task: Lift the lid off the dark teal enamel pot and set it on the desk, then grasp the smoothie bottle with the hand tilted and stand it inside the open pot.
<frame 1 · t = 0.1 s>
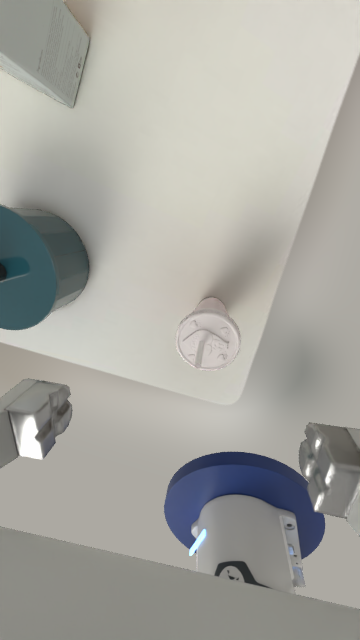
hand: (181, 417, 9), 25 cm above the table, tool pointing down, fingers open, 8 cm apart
smoothie: (211, 310, 34), on the table
small box: (48, 57, 27), on the table
pot: (45, 260, 35), on the table
lid: (1, 270, 28), point 7 cm above the table, touching pot
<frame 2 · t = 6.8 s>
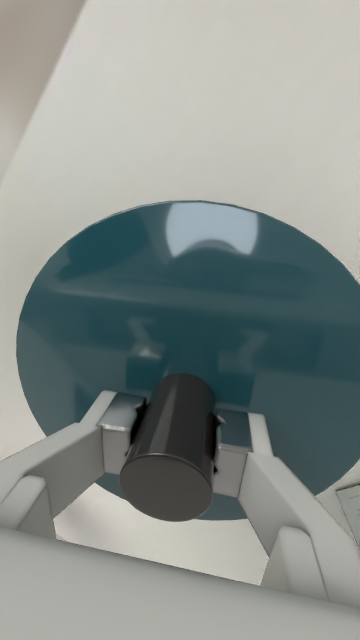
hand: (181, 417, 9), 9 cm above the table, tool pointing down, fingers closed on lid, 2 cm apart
lid: (185, 390, 10), point 8 cm above the table, touching gripper, pot
when the fingers open (2 cm above the table, at t = 14.3 s): lid stays where it is, point 1 cm above the table.
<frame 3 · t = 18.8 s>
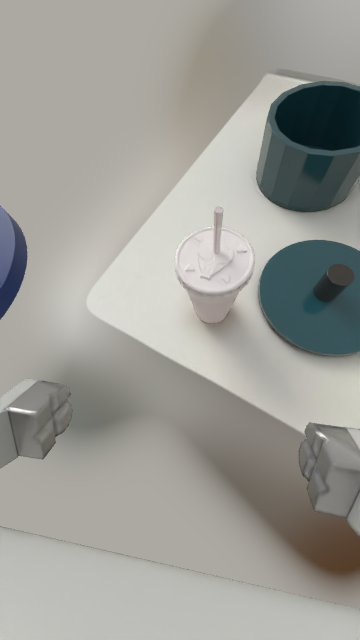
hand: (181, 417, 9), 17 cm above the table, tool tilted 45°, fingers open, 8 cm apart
smoothie: (211, 309, 29), on the table
pot: (303, 176, 35), on the table
lid: (322, 294, 28), point 1 cm above the table
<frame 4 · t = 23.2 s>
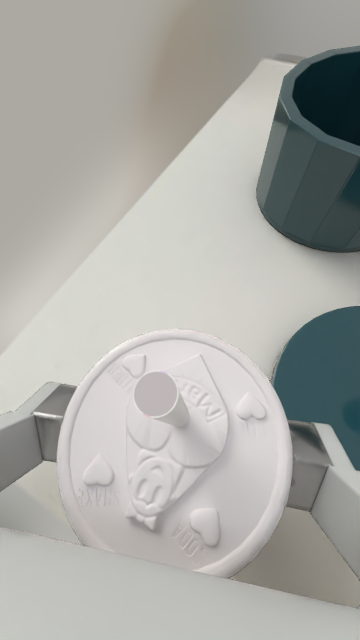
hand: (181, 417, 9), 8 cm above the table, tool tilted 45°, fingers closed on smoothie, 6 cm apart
smoothie: (186, 435, 16), on the table, touching gripper
pot: (328, 195, 23), on the table
when the fingers open (8 cm above the table, at t = 34.5 s): smoothie stays where it is, resting on pot.
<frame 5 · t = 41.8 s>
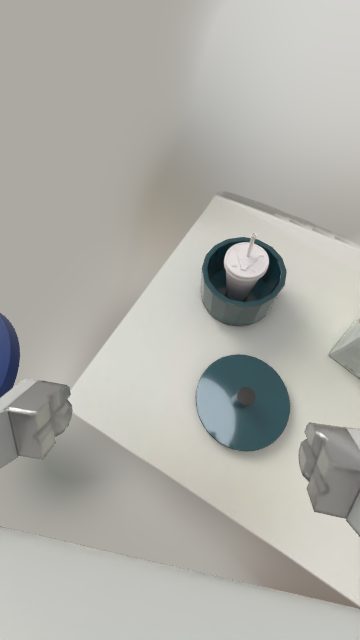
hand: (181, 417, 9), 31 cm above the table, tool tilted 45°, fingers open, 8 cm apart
smoothie: (236, 293, 46), resting on pot
small box: (358, 351, 41), on the table
pot: (236, 293, 46), on the table
lid: (241, 399, 38), point 1 cm above the table
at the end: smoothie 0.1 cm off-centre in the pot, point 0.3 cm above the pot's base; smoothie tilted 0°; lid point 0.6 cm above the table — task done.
